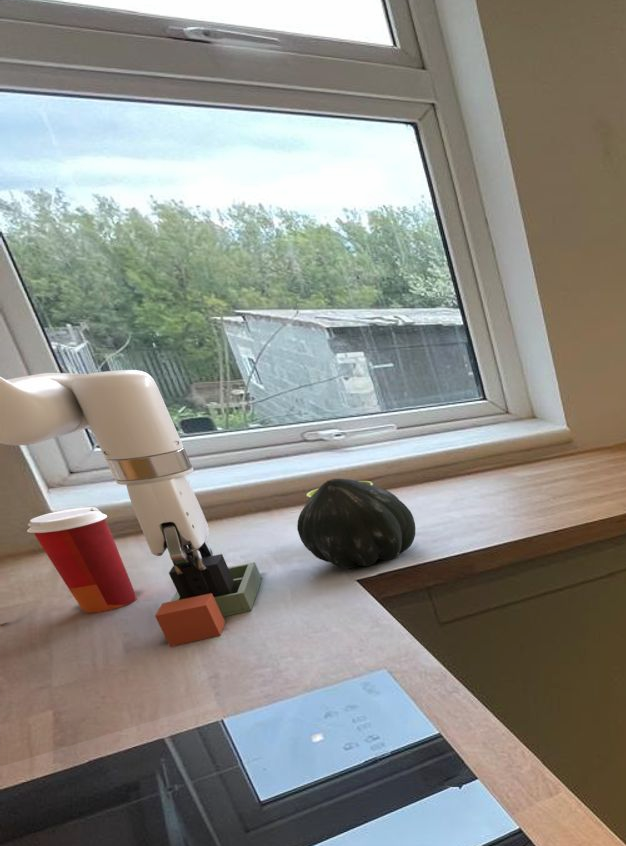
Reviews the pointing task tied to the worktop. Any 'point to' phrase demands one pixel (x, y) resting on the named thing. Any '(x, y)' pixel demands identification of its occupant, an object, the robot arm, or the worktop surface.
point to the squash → (355, 524)
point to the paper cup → (85, 557)
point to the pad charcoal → (218, 572)
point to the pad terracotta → (190, 619)
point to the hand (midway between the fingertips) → (207, 589)
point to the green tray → (238, 590)
